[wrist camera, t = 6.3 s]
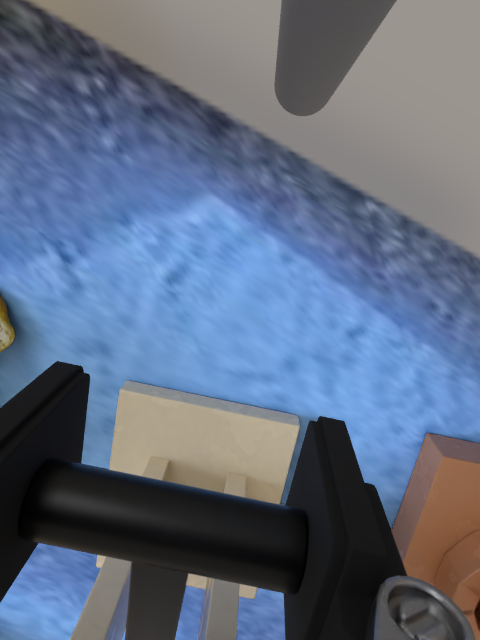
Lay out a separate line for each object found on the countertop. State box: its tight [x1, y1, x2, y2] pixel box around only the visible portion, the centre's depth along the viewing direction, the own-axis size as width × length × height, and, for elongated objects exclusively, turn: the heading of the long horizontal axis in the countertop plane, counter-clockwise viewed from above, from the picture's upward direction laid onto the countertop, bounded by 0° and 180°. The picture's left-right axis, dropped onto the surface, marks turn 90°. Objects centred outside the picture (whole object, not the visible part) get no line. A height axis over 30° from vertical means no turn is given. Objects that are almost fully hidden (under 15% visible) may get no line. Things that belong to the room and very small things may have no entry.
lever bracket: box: [70, 381, 300, 640], centre depth 18 cm, size 11×9×13 cm
